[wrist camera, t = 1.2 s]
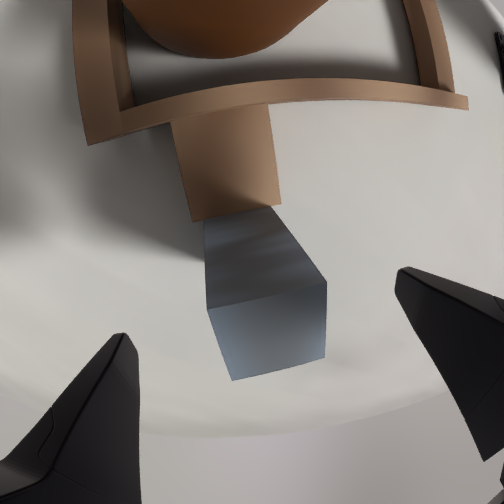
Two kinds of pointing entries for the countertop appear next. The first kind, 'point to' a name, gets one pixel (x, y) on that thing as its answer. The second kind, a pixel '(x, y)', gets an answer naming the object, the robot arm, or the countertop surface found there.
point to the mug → (219, 24)
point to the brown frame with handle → (243, 178)
